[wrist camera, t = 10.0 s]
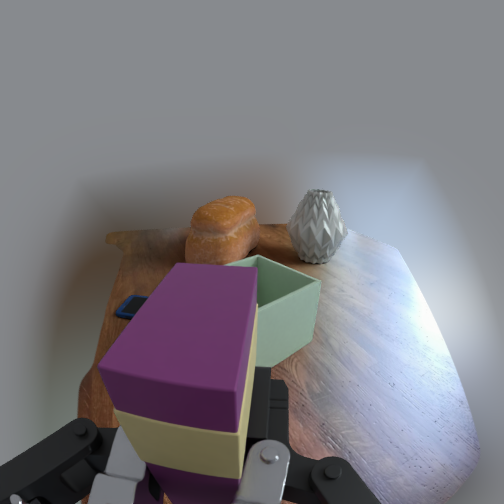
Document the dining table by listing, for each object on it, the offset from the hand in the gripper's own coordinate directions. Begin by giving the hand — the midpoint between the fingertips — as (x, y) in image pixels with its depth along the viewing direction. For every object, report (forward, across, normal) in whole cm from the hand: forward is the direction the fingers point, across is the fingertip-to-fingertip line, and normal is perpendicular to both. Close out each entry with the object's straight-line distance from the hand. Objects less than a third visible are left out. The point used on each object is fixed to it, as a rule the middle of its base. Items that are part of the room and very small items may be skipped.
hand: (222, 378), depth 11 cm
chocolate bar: (-3, 0, +7) cm, 7 cm away
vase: (+64, -13, +20) cm, 69 cm away
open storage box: (+28, 0, +20) cm, 34 cm away
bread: (+63, +11, +20) cm, 67 cm away
